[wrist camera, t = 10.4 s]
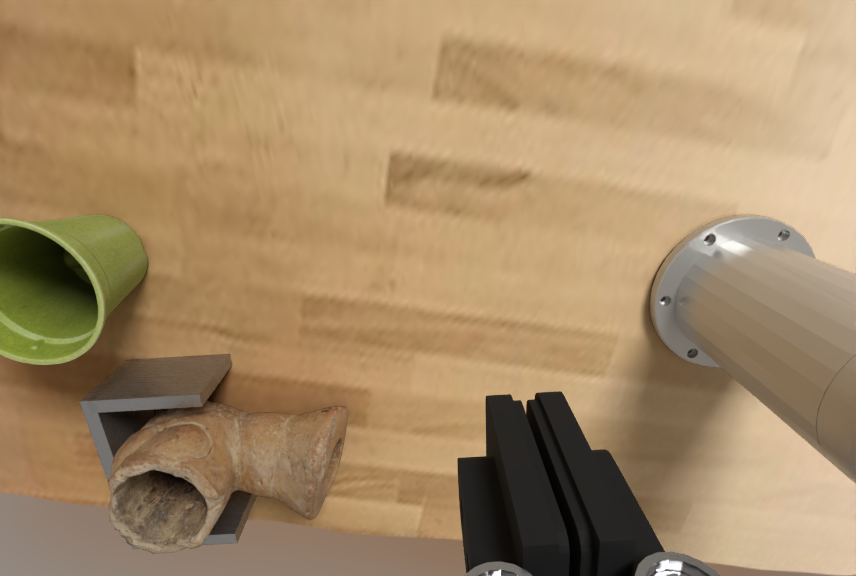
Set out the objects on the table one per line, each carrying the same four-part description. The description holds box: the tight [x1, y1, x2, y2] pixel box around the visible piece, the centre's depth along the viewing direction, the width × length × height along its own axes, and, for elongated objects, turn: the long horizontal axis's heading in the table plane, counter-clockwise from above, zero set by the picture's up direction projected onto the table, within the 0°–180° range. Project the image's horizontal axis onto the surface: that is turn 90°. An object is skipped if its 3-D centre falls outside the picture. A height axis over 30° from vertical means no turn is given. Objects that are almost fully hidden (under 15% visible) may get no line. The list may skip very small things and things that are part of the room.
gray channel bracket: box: [80, 354, 257, 549], centre depth 40 cm, size 8×14×6 cm, turn 3°
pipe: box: [108, 400, 348, 553], centre depth 38 cm, size 9×16×10 cm, turn 87°
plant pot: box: [0, 215, 148, 365], centre depth 33 cm, size 9×9×9 cm
